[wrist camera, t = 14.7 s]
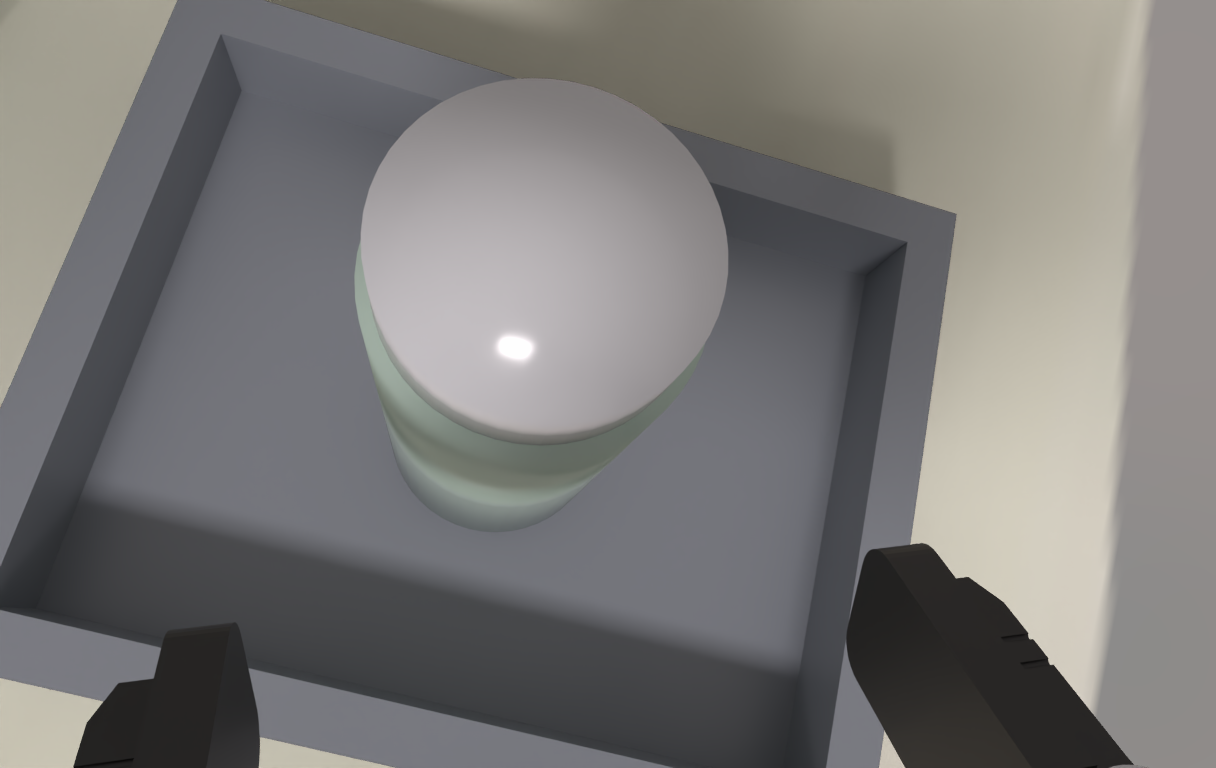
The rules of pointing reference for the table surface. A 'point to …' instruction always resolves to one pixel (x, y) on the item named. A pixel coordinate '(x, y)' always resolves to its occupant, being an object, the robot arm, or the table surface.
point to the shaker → (532, 292)
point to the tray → (373, 485)
